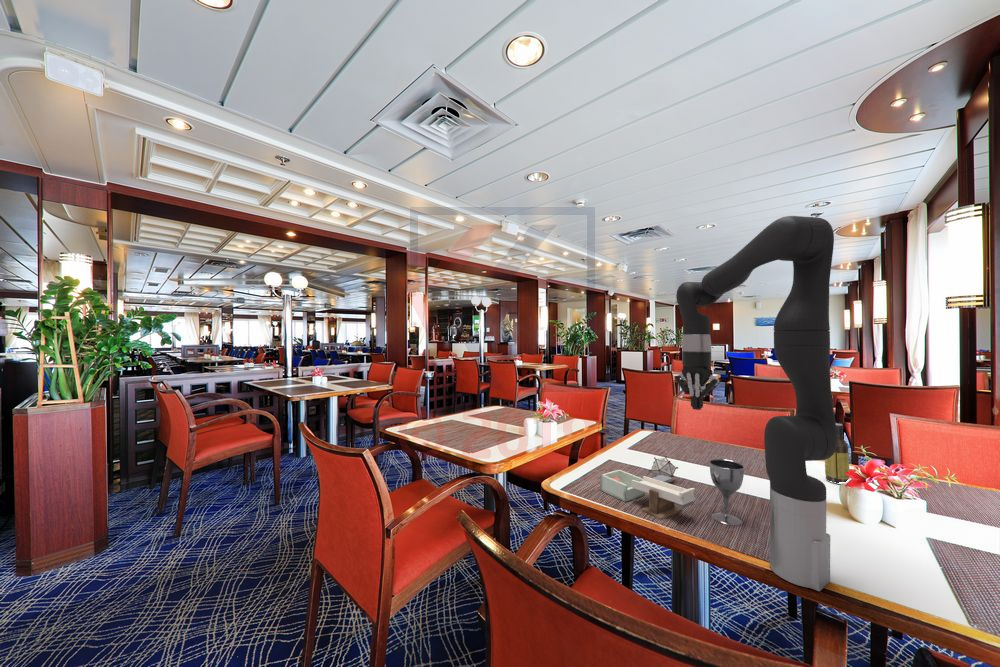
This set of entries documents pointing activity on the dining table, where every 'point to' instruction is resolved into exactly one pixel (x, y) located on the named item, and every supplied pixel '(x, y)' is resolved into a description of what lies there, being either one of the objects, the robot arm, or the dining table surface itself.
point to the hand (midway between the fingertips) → (696, 409)
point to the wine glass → (726, 486)
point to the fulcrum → (660, 506)
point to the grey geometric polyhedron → (663, 467)
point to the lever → (666, 490)
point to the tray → (620, 485)
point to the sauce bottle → (838, 460)
